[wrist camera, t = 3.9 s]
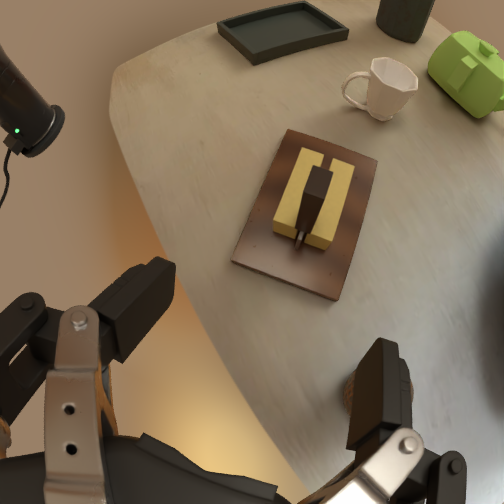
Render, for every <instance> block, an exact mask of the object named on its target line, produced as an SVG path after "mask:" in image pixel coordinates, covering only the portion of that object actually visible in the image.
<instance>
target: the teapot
mask: <svg viewBox="0 0 504 504" xmlns="http://www.w3.org/2000/svg"><path fill="white" fill-rule="evenodd" d="M498 53H499V51H498V50H496V49H495V48H494V47H493V46H492V45H490V44H488V43H487V42H486V41H483V40H479V39H478V38H477V37H476V36H474V35H473V34H471V33H470V32H468V31H460V32H456V33H454V34H452V35H450V36H449V37H448V38H447V39H446V40H445V41H444V42H442V43H441V44H440V45H439V47H438V48H437V49H436V50H435V52H434V53H433V55H432V56H431V58H430V60H429V62H428V73H429V75H430V76H431V77H432V78H433V79H434V80H435V81H436V82H437V83H438V84H439V85H440V86H441V87H442V88H443V89H444V90H445V91H446V92H447V93H448V94H449V95H450V96H451V97H452V98H453V99H454V100H455V101H456V102H457V103H459V104H460V105H461V106H462V107H463V108H464V109H465V110H466V111H468V112H469V113H470V114H471V115H472V116H474V117H476V118H481V117H484V116H486V115H487V114H489V113H490V112H491V111H494V112H496V111H502V110H504V61H503V60H502V59H501V58H500V57H499V56H498Z"/></svg>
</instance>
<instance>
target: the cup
mask: <svg viewBox="0 0 504 504" xmlns="http://www.w3.org/2000/svg"><path fill="white" fill-rule="evenodd" d="M357 77H362V78H366V79H369V84H368V90H367V105H361V104H359V103H357V102H355V101H354V100H352V99H351V98H350V97H348V96H347V95H346V94H345V89H346V87H347V85H348V84H349V82H350V81H352V80H353V79H355V78H357ZM341 88H342V94H343V97H344V98H345V99H346V100H347V101H348V102H349V103H351V104H352V105H354V106H355V107H357V108H359V109H361V110H366V111H368V112H369V114H370V115H371V116H372V117H373V118H375V119H378V120H380V121H387V120H391V119H392V115H395V114H396V113H397V112H398V111H399V110H400V109H402V108H403V106H404V105H405V104H406V103H407V101H408V100H409V99H410V98H411V97H412V96H413V94H414V93H415V92H416V91H417V90H418V77H417V76H416V75H415V74H414V73H413V72H412V71H411V70H410V69H409V68H408V67H407V66H406V65H405V64H403V63H401V62H398V61H396V60H393V59H391V58H388V57H384V58H375V59H373V60H372V64H371V68H370V73H368V72H354V73H352V74H351V75H349V76H347V78H346V79H345V81H344V82H343V85H342V87H341Z"/></svg>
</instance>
